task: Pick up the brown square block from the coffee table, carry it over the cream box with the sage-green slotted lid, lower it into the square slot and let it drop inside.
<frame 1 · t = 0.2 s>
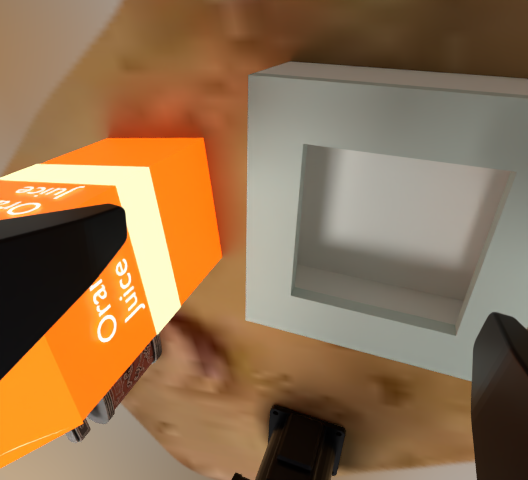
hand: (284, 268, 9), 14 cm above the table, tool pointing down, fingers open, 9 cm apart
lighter: (142, 322, 36), on the table
slot box: (392, 194, 22), on the table
orange juice: (168, 197, 28), on the table
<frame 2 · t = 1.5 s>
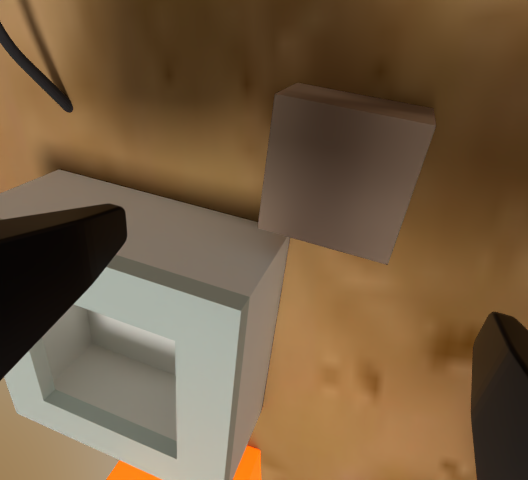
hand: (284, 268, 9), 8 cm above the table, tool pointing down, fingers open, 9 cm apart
slot box: (168, 299, 23), on the table
brown square block: (347, 158, 16), on the table
orange juice: (208, 460, 30), on the table
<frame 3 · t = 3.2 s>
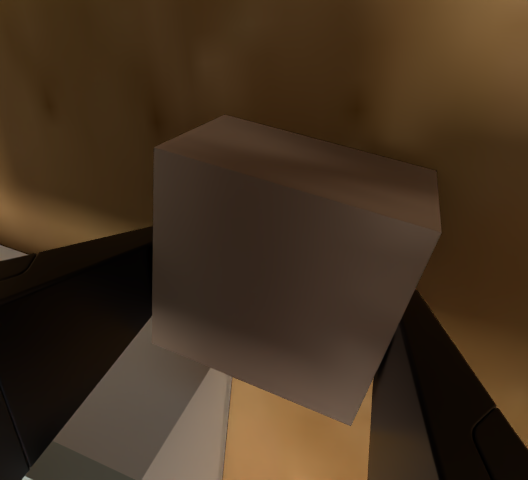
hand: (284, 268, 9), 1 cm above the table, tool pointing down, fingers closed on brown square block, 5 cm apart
slot box: (91, 387, 17), on the table
brown square block: (301, 233, 10), on the table, touching gripper
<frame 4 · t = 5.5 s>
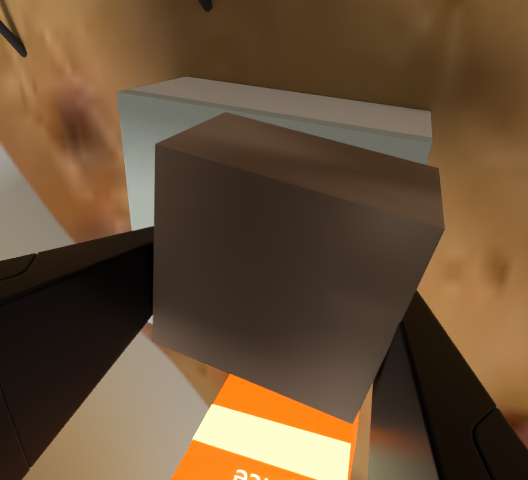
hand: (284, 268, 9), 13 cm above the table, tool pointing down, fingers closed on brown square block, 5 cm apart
slot box: (285, 206, 24), on the table
brown square block: (302, 231, 10), point 12 cm above the table, touching gripper
orange juice: (303, 387, 31), on the table
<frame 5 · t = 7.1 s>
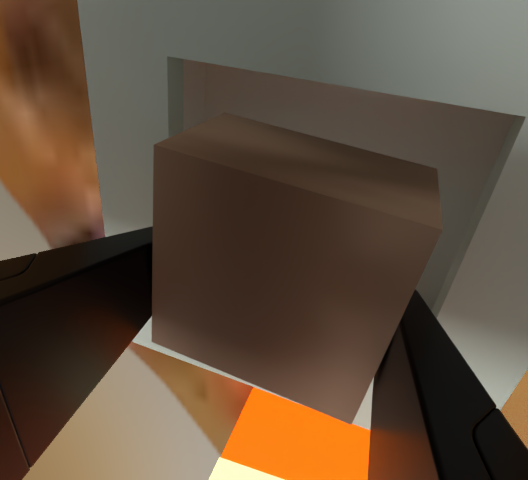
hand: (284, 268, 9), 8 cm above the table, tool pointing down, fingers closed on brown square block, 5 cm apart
slot box: (338, 169, 16), on the table
brown square block: (301, 232, 10), point 6 cm above the table, touching gripper
orange juice: (337, 422, 23), on the table
when the fingers open (7 cm above the table, at t = 8.1 s): brown square block drops 5 cm, resting on slot box.
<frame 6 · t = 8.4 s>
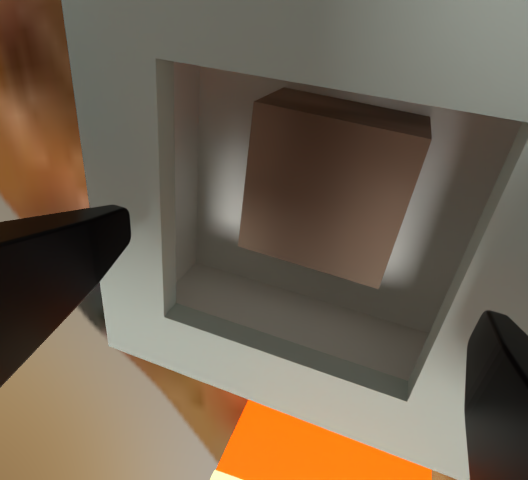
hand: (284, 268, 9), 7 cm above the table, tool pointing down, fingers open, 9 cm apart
slot box: (336, 174, 15), on the table
brown square block: (337, 170, 15), resting on slot box
orange juice: (336, 431, 22), on the table
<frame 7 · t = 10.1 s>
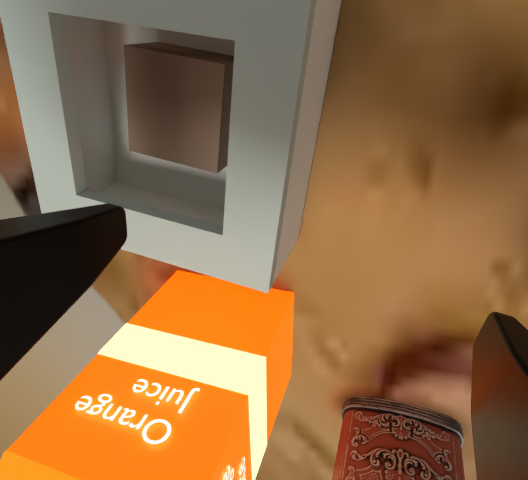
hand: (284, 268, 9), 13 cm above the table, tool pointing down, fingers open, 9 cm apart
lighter: (400, 416, 28), on the table
slot box: (204, 105, 22), on the table
brown square block: (200, 101, 21), resting on slot box
orange juice: (236, 320, 29), on the table
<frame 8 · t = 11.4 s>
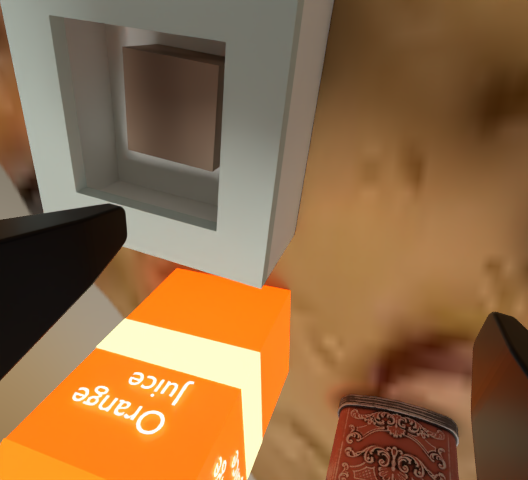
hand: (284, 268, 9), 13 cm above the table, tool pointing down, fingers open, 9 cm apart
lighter: (396, 415, 28), on the table
slot box: (201, 106, 22), on the table
brown square block: (198, 101, 22), resting on slot box
orange juice: (234, 318, 29), on the table
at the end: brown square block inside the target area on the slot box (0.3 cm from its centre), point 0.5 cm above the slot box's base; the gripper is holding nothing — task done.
